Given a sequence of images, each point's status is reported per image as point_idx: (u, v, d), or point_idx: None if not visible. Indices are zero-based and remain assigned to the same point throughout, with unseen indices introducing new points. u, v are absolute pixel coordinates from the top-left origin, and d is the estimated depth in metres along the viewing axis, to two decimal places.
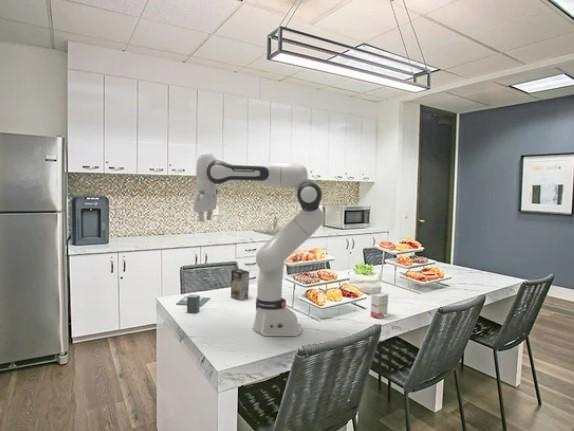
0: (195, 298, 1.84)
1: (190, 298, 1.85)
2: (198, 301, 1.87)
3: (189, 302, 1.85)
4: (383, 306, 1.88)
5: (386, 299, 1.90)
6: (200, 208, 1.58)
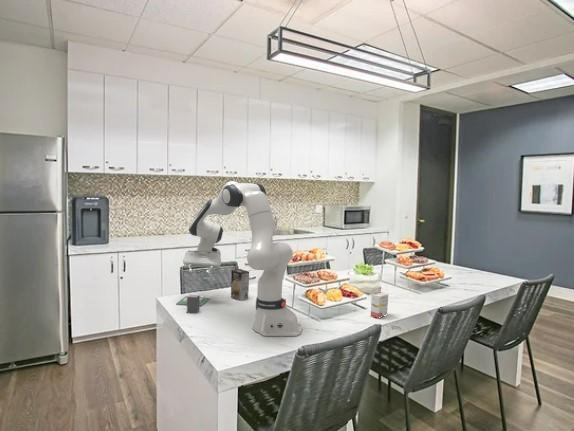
0: (195, 298, 1.84)
1: (190, 298, 1.85)
2: (198, 301, 1.87)
3: (189, 302, 1.85)
4: (383, 306, 1.88)
5: (386, 299, 1.90)
6: None
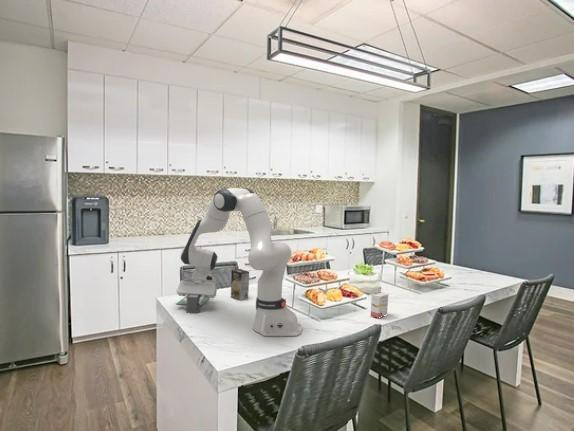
0: (195, 298, 1.84)
1: (190, 298, 1.85)
2: None
3: (189, 302, 1.85)
4: (383, 306, 1.88)
5: (386, 299, 1.90)
6: None
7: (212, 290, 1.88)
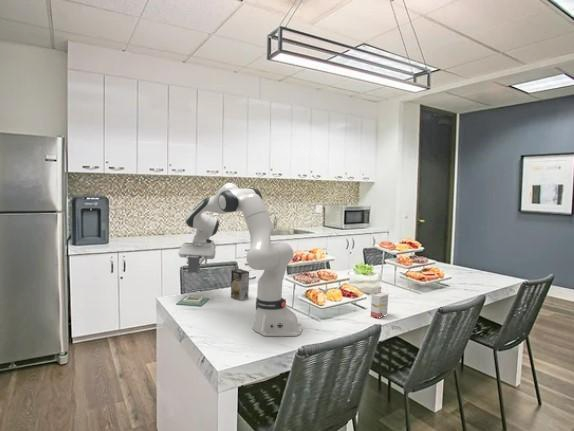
0: (195, 258, 2.00)
1: (191, 258, 2.00)
2: None
3: (190, 262, 2.00)
4: (383, 306, 1.88)
5: (386, 299, 1.90)
6: None
7: (211, 251, 2.04)
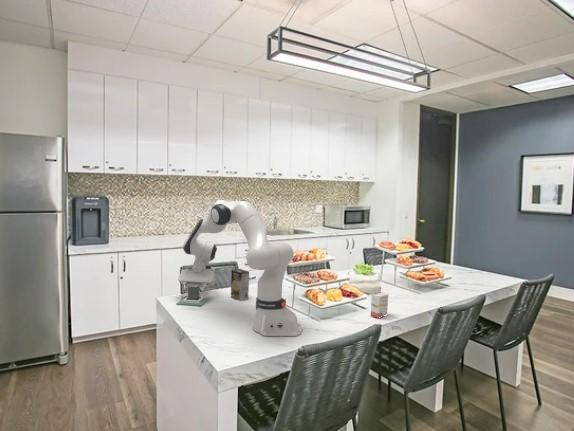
0: (195, 287, 2.01)
1: (191, 287, 2.01)
2: (198, 290, 2.03)
3: (190, 291, 2.01)
4: (383, 306, 1.88)
5: (386, 299, 1.90)
6: None
7: (211, 278, 2.05)
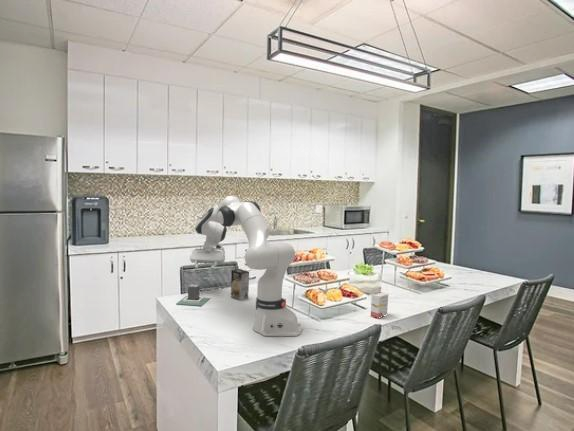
0: (195, 287, 2.01)
1: (191, 287, 2.01)
2: (198, 290, 2.03)
3: (190, 291, 2.01)
4: (383, 306, 1.88)
5: (386, 299, 1.90)
6: None
7: (221, 257, 2.14)
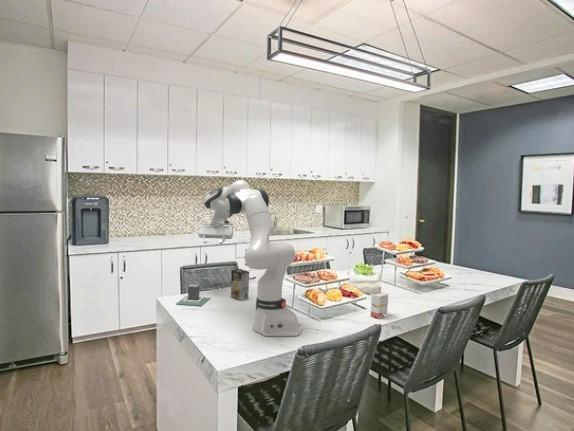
0: (195, 287, 2.01)
1: (191, 287, 2.01)
2: (198, 290, 2.03)
3: (190, 291, 2.01)
4: (383, 306, 1.88)
5: (386, 299, 1.90)
6: None
7: (229, 232, 2.13)
